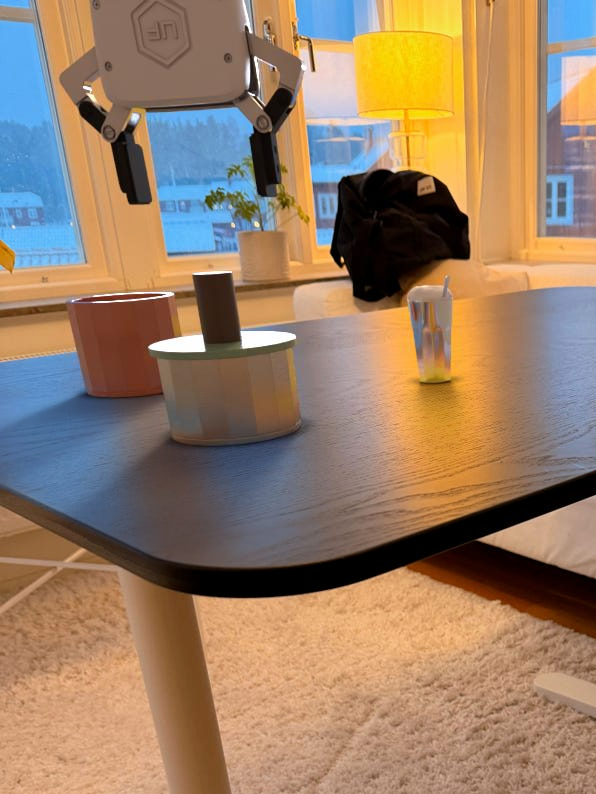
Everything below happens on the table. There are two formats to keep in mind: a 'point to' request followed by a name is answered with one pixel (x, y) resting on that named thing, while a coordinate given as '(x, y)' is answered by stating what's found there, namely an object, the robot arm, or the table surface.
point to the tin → (231, 399)
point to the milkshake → (432, 330)
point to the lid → (220, 327)
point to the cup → (122, 340)
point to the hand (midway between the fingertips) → (204, 200)
